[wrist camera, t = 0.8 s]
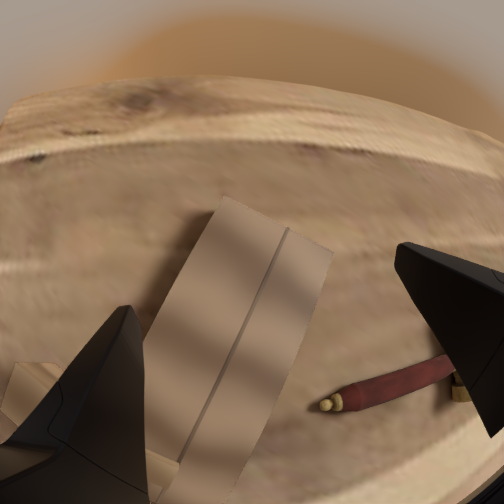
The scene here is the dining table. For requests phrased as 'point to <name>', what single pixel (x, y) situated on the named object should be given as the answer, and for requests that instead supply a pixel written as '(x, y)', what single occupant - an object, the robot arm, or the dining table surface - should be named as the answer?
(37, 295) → the dining table surface
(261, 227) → the plank
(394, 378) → the gavel
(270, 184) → the dining table surface
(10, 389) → the block
